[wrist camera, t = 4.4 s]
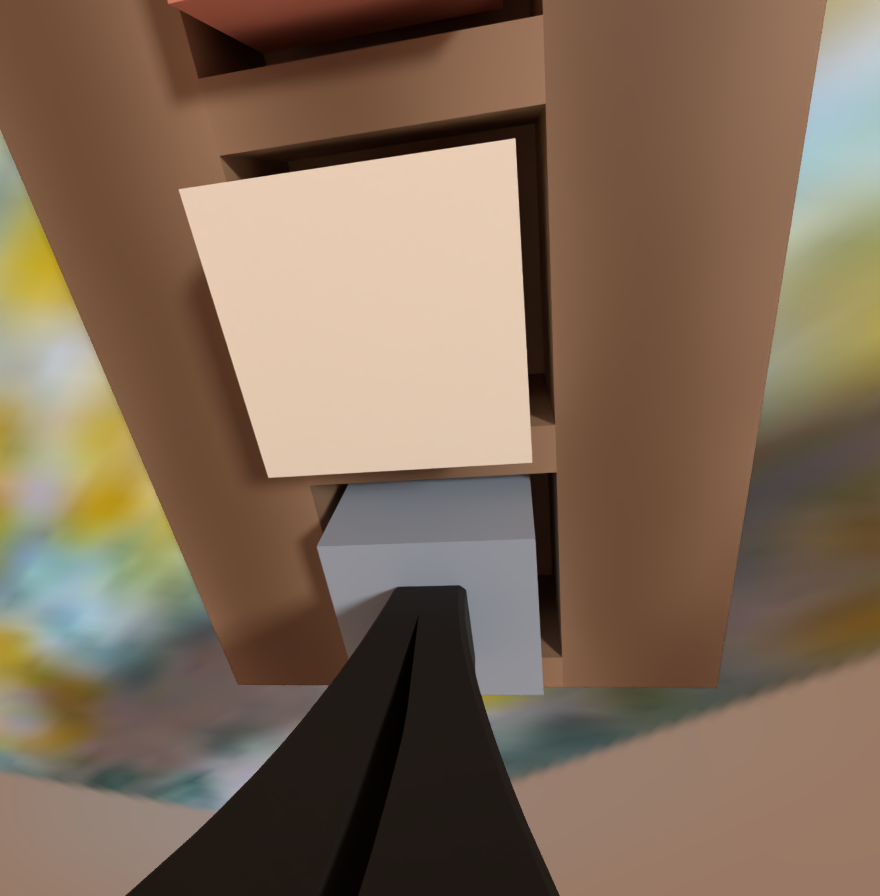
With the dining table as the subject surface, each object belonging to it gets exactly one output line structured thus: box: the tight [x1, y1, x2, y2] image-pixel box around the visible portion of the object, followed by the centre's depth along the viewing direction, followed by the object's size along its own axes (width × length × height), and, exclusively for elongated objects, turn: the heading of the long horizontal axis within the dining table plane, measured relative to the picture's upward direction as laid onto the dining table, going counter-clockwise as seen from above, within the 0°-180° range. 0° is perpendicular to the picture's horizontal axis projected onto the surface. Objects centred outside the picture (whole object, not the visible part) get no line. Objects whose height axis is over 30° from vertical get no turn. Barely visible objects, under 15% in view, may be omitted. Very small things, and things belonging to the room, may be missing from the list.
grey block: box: [317, 474, 544, 695], centre depth 12 cm, size 4×4×3 cm
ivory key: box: [179, 138, 532, 478], centre depth 8 cm, size 4×4×3 cm
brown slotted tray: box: [0, 0, 827, 688], centre depth 10 cm, size 12×19×4 cm, turn 7°
